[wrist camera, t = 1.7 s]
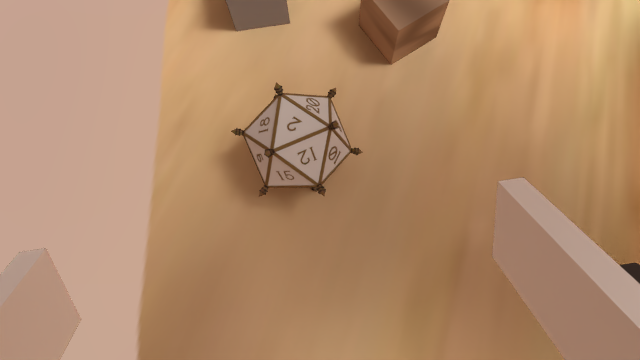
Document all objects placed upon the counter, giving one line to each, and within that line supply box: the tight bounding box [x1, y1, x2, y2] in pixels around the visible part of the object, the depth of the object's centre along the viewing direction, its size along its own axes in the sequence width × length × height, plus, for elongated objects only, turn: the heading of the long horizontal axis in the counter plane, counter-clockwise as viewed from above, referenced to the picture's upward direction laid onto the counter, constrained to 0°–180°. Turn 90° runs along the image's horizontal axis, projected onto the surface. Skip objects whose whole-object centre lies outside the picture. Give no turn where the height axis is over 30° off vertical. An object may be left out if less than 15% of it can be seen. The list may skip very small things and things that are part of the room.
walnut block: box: [359, 0, 449, 65], centre depth 39 cm, size 5×5×5 cm
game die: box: [231, 83, 362, 196], centre depth 34 cm, size 9×8×10 cm
